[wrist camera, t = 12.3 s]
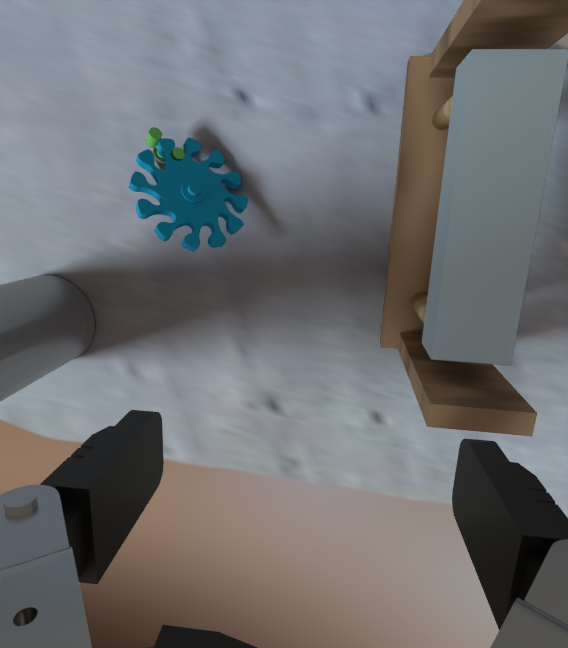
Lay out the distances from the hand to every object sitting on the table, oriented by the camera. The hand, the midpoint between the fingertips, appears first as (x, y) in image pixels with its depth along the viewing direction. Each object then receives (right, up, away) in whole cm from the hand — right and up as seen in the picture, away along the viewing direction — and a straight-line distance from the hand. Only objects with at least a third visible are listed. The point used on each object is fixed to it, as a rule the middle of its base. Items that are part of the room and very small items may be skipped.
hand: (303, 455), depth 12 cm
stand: (+14, +13, +27) cm, 33 cm away
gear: (-8, +16, +29) cm, 34 cm away
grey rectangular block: (+12, +11, +18) cm, 24 cm away
